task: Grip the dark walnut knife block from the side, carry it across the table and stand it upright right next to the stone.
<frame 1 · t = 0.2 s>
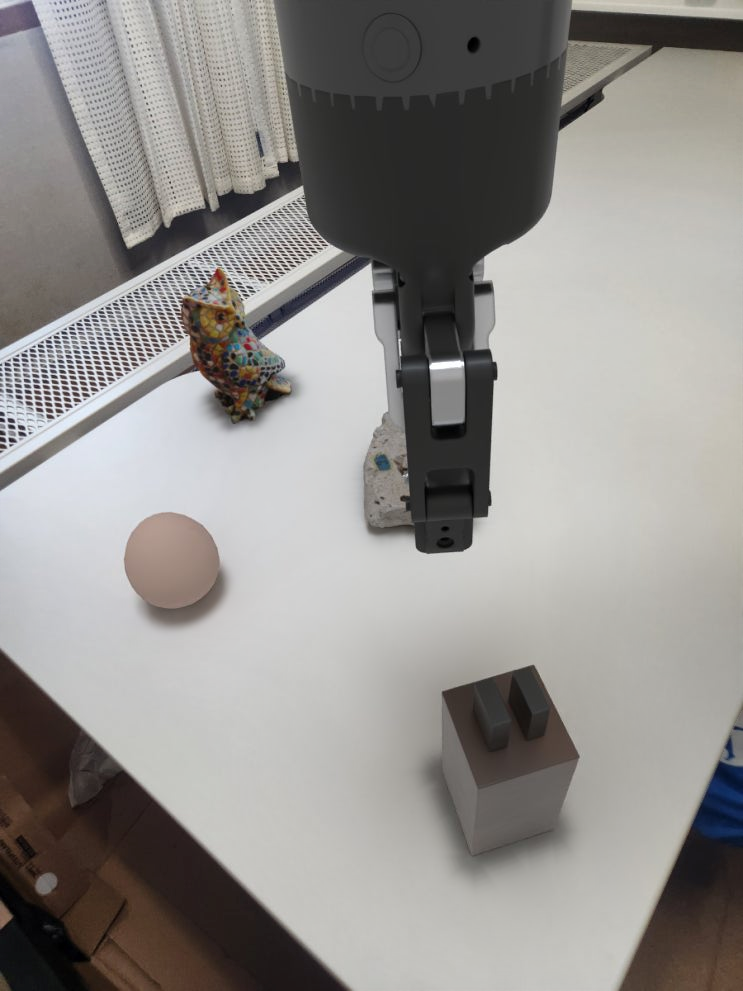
hand: (434, 469, 30), 24 cm above the table, tool pointing down, fingers open, 8 cm apart
stone: (416, 485, 63), on the table
egg: (187, 591, 56), on the table
knife block: (496, 798, 43), on the table
figurine: (251, 402, 73), on the table
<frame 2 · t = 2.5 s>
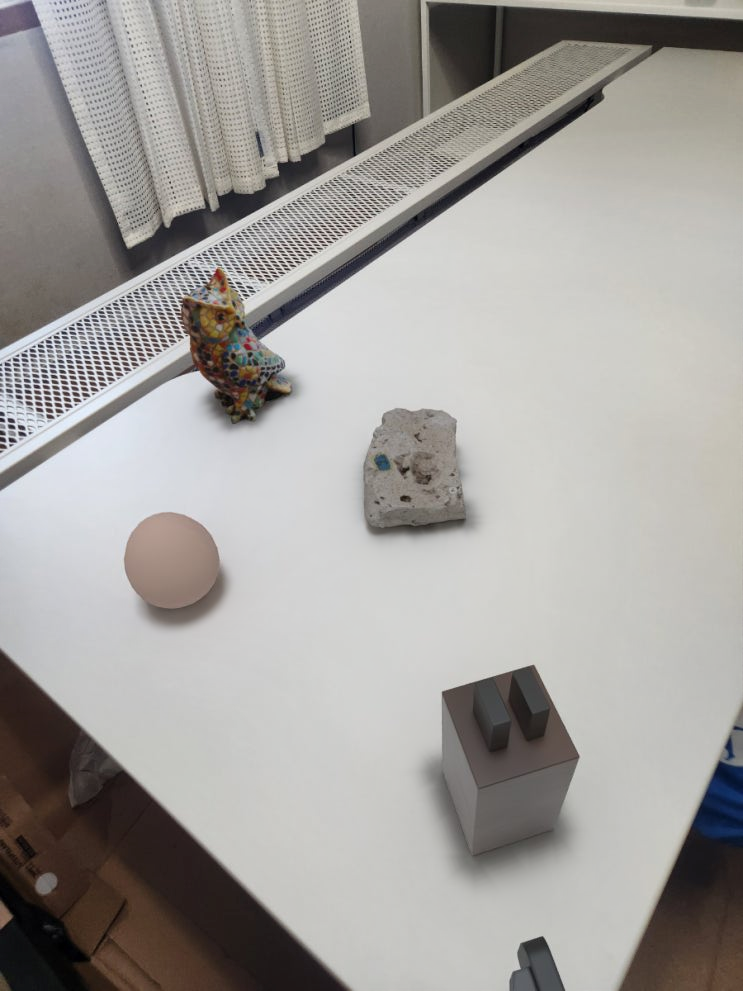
hand: (657, 903, 21), 20 cm above the table, tool horizontal, fingers open, 8 cm apart
nothing on the table moved.
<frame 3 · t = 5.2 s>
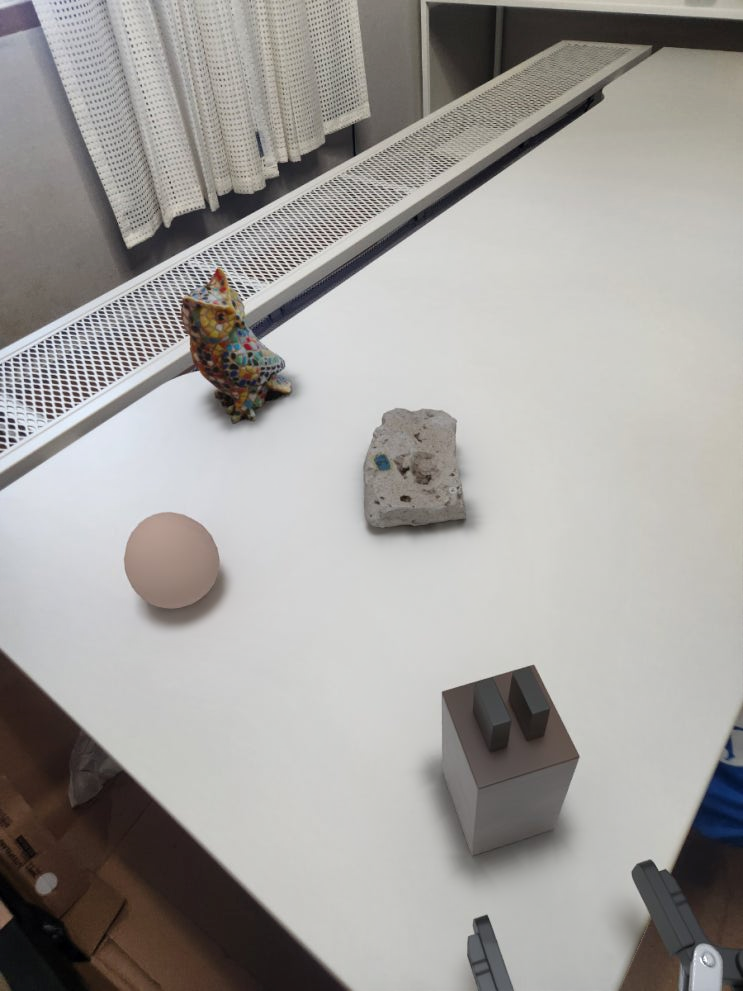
hand: (560, 892, 33), 7 cm above the table, tool horizontal, fingers open, 8 cm apart
nothing on the table moved.
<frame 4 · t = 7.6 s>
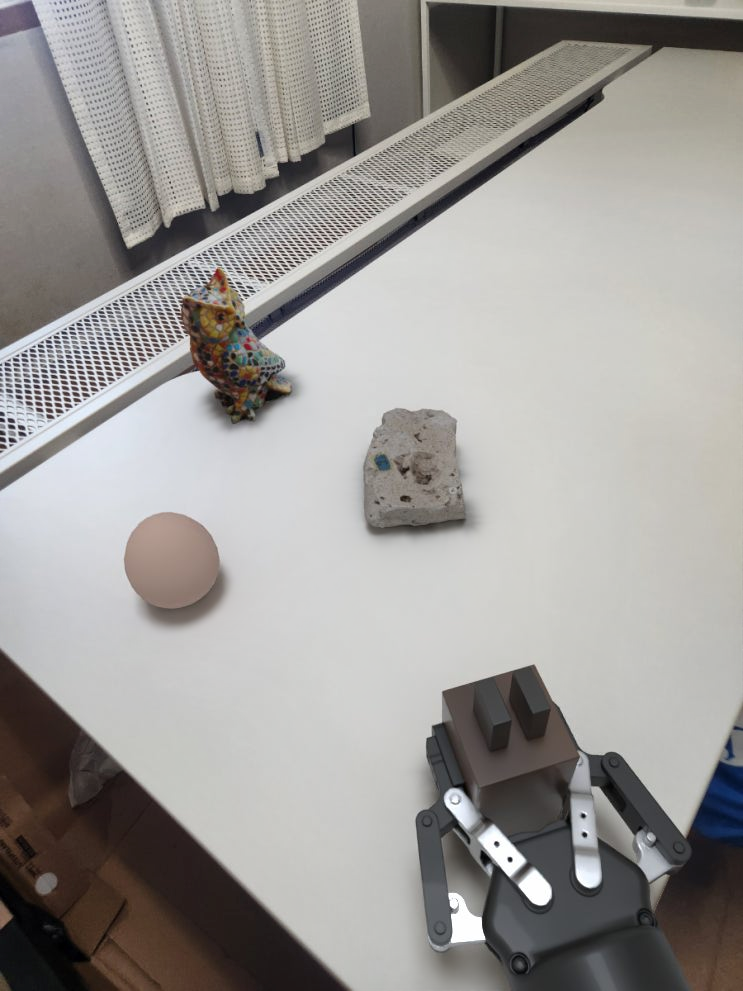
hand: (485, 716, 40), 7 cm above the table, tool horizontal, fingers closed on knife block, 5 cm apart
knife block: (496, 798, 43), on the table, touching gripper
everything else where it was.
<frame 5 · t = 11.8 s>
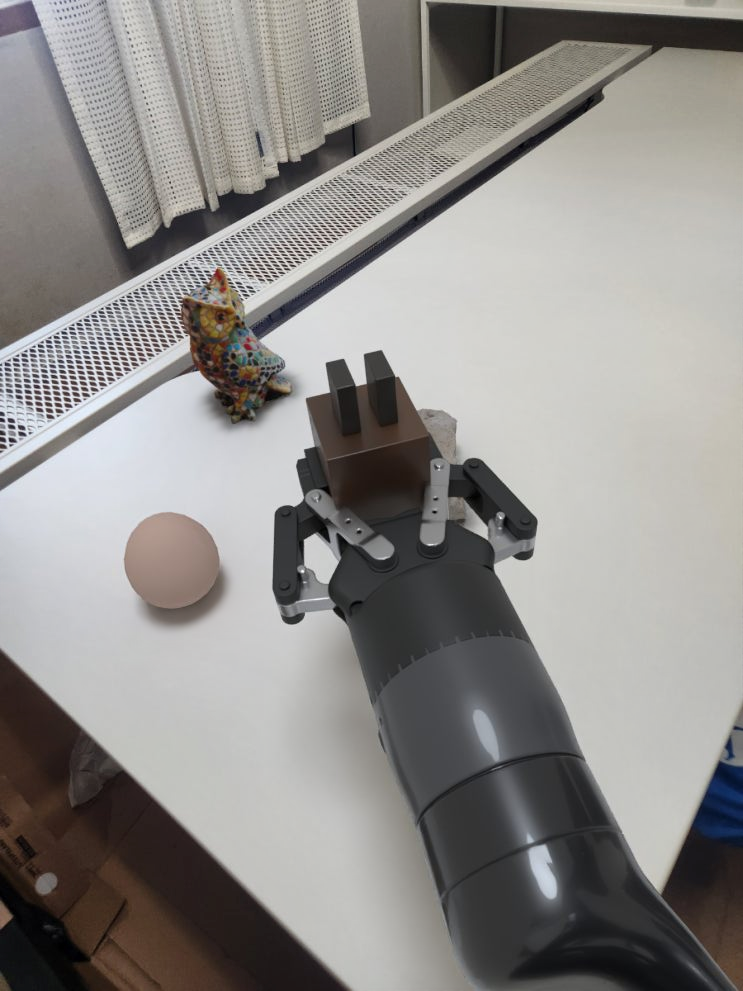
hand: (360, 447, 40), 18 cm above the table, tool horizontal, fingers closed on knife block, 5 cm apart
knife block: (380, 548, 43), point 11 cm above the table, touching gripper
everything else where it was.
when the fingers open (7 cm above the table, at t = 16.2 s): knife block stays where it is, on the table.
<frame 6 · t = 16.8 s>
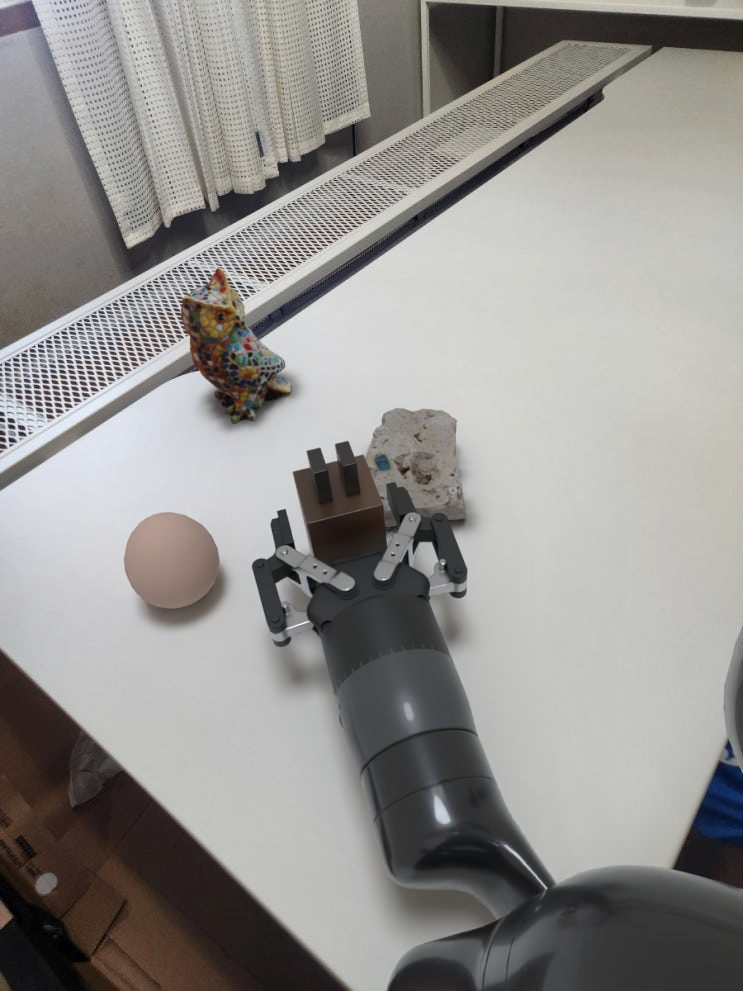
hand: (337, 503, 52), 7 cm above the table, tool horizontal, fingers open, 8 cm apart
knife block: (351, 580, 56), on the table
everything else where it was.
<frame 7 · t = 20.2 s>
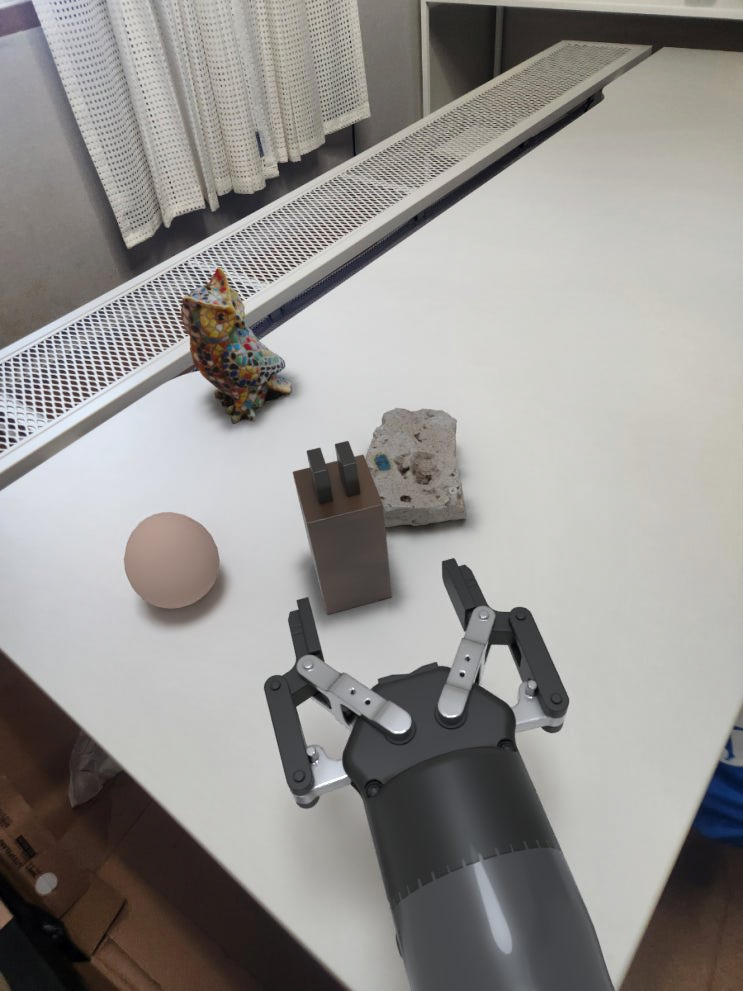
hand: (376, 586, 39), 13 cm above the table, tool horizontal, fingers open, 8 cm apart
nothing on the table moved.
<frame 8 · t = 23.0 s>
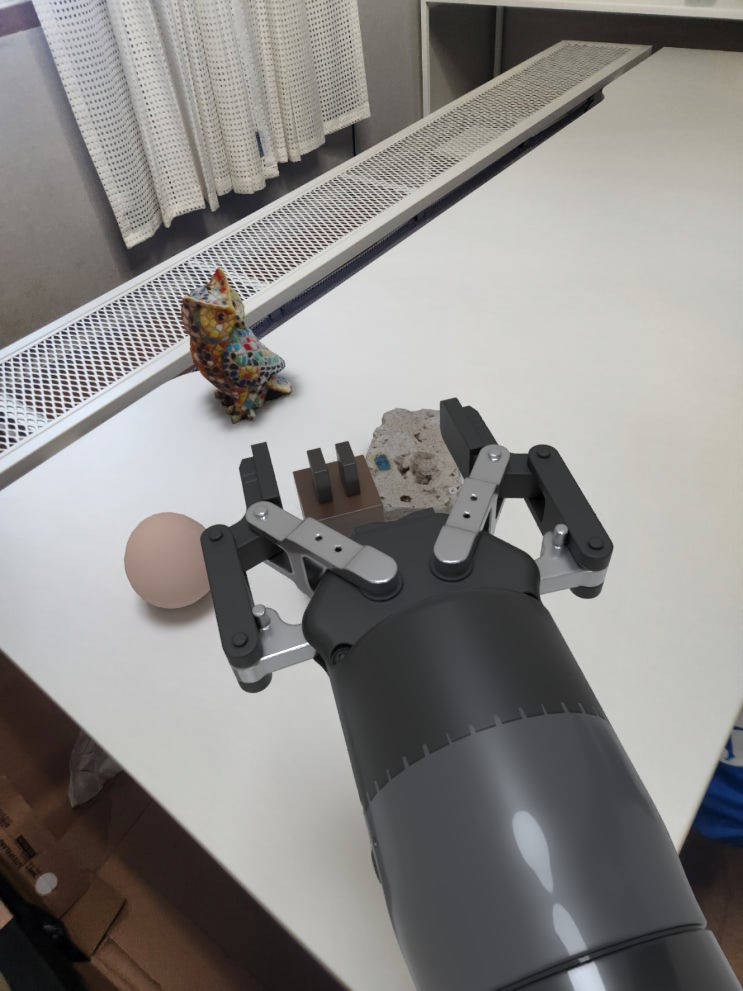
hand: (355, 435, 30), 25 cm above the table, tool horizontal, fingers open, 8 cm apart
nothing on the table moved.
at the end: knife block inside the target area on the table beside the stone (0.6 cm from its centre), on the table; knife block tilted 0°; the gripper is holding nothing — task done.
